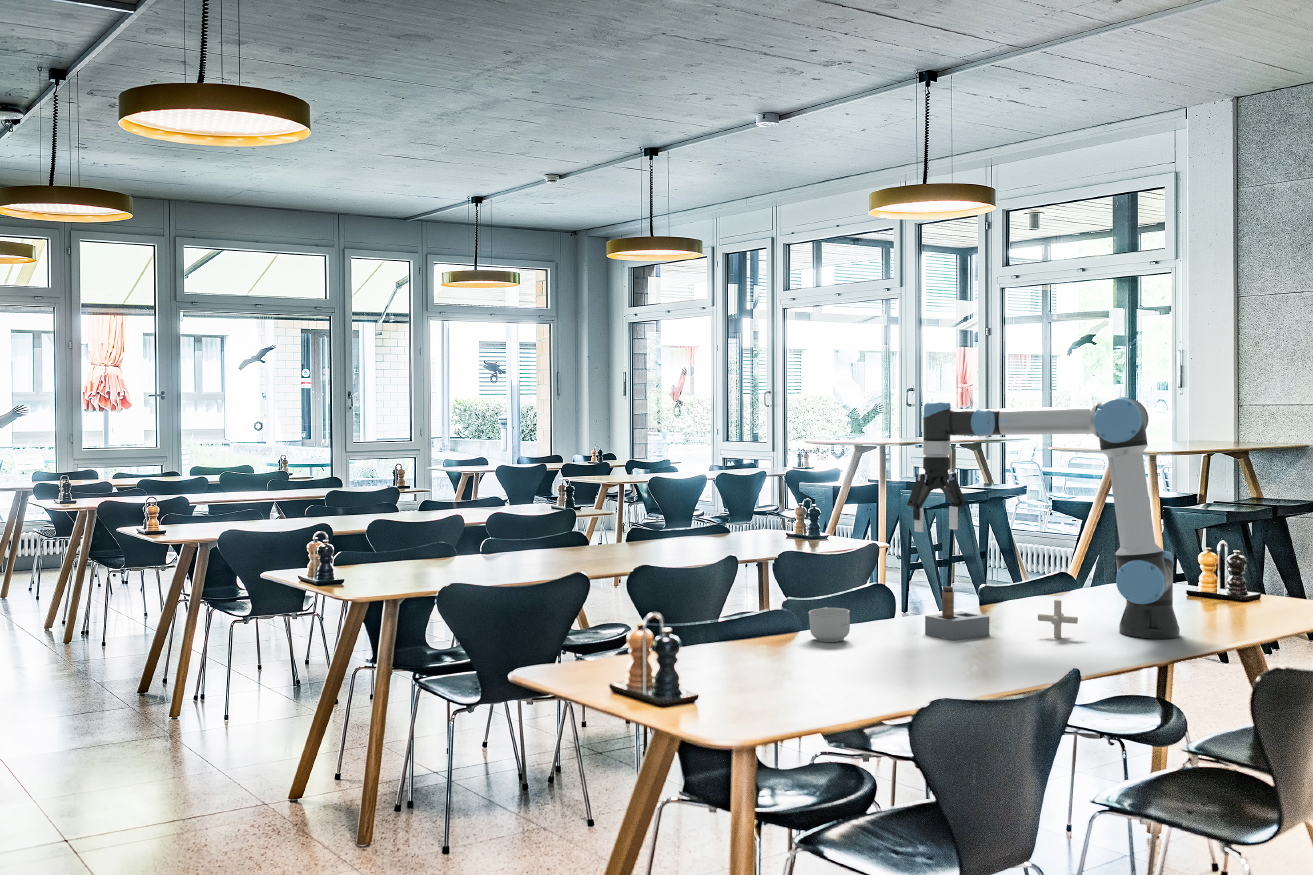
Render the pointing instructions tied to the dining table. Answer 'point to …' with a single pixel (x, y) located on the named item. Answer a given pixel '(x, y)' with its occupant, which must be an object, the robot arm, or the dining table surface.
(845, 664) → the dining table surface
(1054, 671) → the dining table surface
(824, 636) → the teacup
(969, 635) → the holder block
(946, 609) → the peg
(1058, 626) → the pipe connector
